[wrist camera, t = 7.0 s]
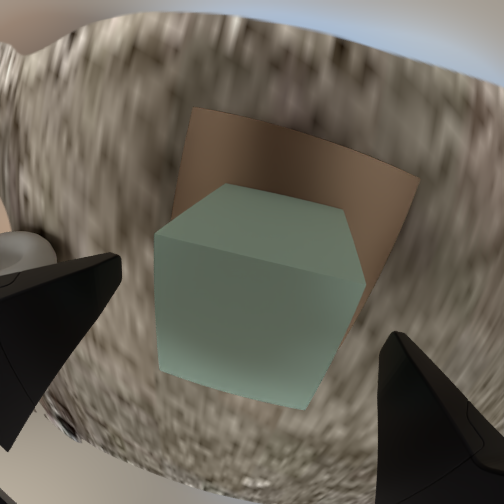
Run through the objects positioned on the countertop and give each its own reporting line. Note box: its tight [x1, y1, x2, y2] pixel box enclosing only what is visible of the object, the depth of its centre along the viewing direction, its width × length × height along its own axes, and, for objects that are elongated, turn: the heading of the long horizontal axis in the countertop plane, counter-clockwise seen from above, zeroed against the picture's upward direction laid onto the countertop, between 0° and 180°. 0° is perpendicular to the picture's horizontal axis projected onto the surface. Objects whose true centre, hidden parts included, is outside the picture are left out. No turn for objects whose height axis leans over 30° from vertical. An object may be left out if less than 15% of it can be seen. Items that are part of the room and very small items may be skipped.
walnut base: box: [171, 107, 420, 353], centre depth 14 cm, size 10×10×4 cm
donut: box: [0, 231, 57, 276], centre depth 16 cm, size 10×4×10 cm, turn 79°
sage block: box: [154, 183, 366, 410], centre depth 10 cm, size 5×5×6 cm
